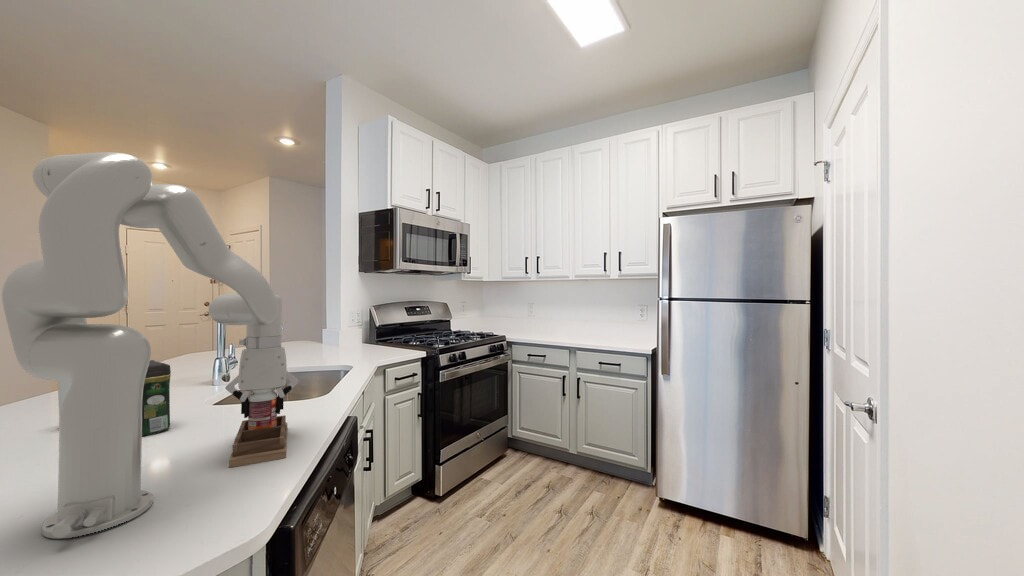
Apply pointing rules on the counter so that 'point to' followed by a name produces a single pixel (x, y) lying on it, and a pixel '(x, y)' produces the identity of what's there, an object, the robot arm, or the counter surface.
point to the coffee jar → (156, 398)
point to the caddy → (259, 444)
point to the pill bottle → (262, 409)
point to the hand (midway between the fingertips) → (262, 413)
